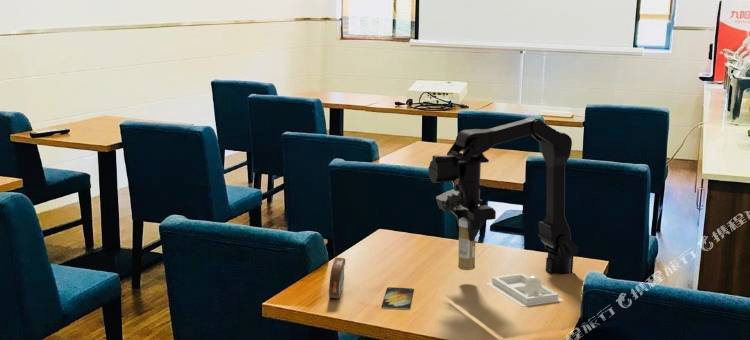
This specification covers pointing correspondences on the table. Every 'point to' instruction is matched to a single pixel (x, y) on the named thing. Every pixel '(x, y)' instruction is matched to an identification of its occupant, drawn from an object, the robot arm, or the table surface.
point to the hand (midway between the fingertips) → (467, 238)
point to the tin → (336, 278)
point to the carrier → (522, 290)
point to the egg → (533, 286)
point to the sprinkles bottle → (465, 247)
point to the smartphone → (398, 298)
